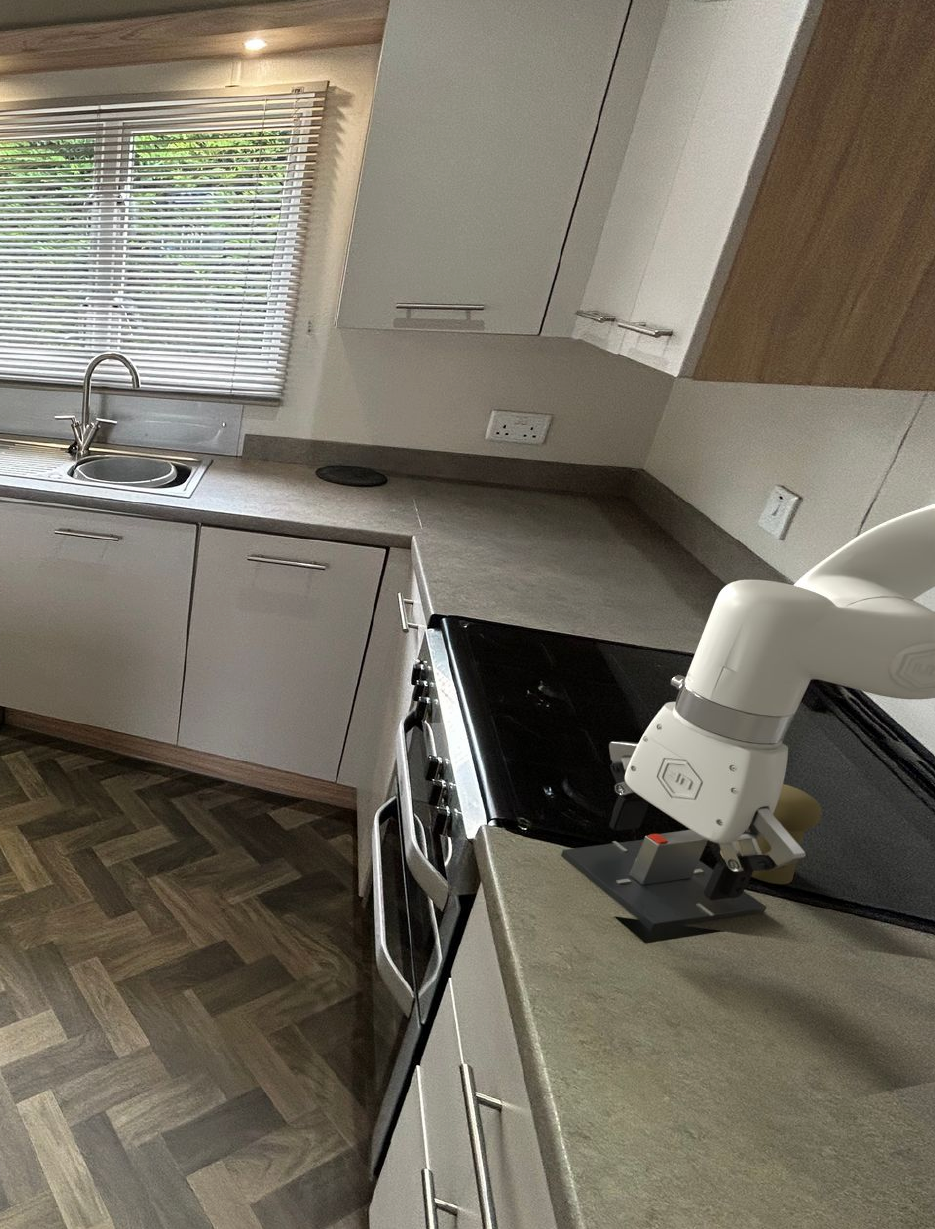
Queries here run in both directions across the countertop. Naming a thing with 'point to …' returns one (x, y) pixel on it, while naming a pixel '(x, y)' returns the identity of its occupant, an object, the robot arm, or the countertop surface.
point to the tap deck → (657, 894)
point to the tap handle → (668, 857)
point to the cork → (789, 829)
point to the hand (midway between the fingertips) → (668, 860)
